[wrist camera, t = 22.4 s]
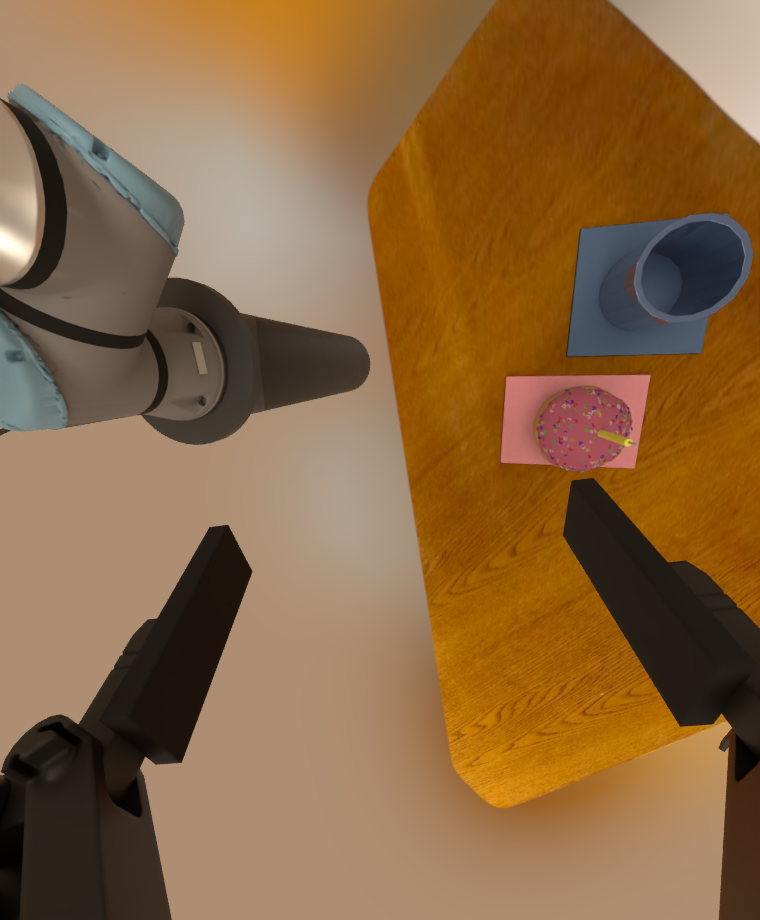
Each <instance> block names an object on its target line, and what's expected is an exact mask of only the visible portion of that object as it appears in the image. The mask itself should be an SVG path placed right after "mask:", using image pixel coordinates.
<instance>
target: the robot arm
mask: <svg viewBox="0 0 760 920" xmlns="http://www.w3.org/2000/svg"><path fill="white" fill-rule="evenodd" d="M8 99H9V103H7V102H5V101H4V100H2V99H0V427H2V429H0V435H2V434H4V433H7V432H9V431H11V430H13V431H33V430H44V429H53V430H58V429H62V428H67V427H72V426H78V425H84V424H90V423H95V422H101V421H107V420H112V419H118V418H124V417H129V416H134V415H141V414H145V415H150V416H156V417H161V418H166V419H171V420H178V421H185V420H193V419H198V418H202V417H204V416H206V415H208V414H210V413H211V412H213V411H214V410H215V409H216V408H217V407H218V405H219V404H220V402H221V401H222V399H223V397H224V395H225V392H226V388H227V384H228V363H227V358H226V354H225V351H224V348H223V346H222V343H221V341H220V339H219V338H218V336H217V334H216V333H215V332H214V330H213V329H212V328H211V327H210V325H209V324H208V323H207V322H206V321H204V320H203V319H202V318H201V317H199V316H198V315H196V314H194V313H192V312H190V311H187V310H183V309H178V308H171V307H162V308H156V307H157V304H158V301H159V299H160V296H161V294H162V291H163V288H164V286H165V283H166V280H167V278H168V275H169V273H170V270H171V267H172V265H173V262H174V259H175V257H176V256H177V255H178V248H177V247H178V244H179V240H180V237H181V233H182V230H183V226H184V215H183V210H182V208H181V206H180V204H179V202H178V201H177V200H176V199H175V197H174V196H172V195H171V194H170V193H169V192H167V191H166V190H165V189H164V188H163V187H161V186H160V185H159V184H157V183H156V182H154V181H153V180H152V179H151V178H150V177H148V176H147V175H145V174H144V173H143V172H142V171H140V170H139V169H137V168H136V167H135V166H134V165H132V164H131V163H130V162H128V161H127V160H126V159H124V158H123V157H122V156H120V155H119V154H118V153H116V152H115V151H114V150H112V149H111V148H109V147H108V146H107V145H105V144H104V143H103V142H102V141H101V140H99V139H98V138H96V137H95V136H94V135H92V134H91V133H90V132H88V131H87V130H86V129H85V128H83V127H82V126H81V125H79V124H78V123H77V122H75V121H74V120H73V119H71V118H70V117H69V116H68V115H66V114H65V113H63V112H62V111H61V110H59V109H58V108H57V107H55V106H54V105H52V104H51V103H50V102H49V101H47V100H46V99H44V98H43V97H42V96H41V95H39V94H38V93H36V92H35V91H34V90H32V89H31V88H30V87H28V86H26V85H23V84H18V85H16V86H15V88H14V90H13V92H10V94H8ZM563 536H564V538H565V539H566V541H567V543H568V544H569V546H570V548H571V549H572V551H573V553H574V554H575V556H576V557H577V559H578V561H579V562H580V564H581V566H582V567H583V569H584V570H585V572H586V574H587V575H588V577H589V579H590V580H591V582H592V584H593V585H594V587H595V588H596V590H597V592H598V593H599V595H600V597H601V598H602V600H603V601H604V603H605V605H606V606H607V608H608V610H609V611H610V613H611V615H612V616H613V618H614V619H615V621H616V623H617V624H618V626H619V628H620V629H621V631H622V633H623V634H624V636H625V637H626V639H627V641H628V642H629V644H630V646H631V647H632V649H633V650H634V652H635V654H636V655H637V657H638V659H639V660H640V662H641V664H642V665H643V667H644V668H645V670H646V672H647V673H648V675H649V677H650V678H651V680H652V681H653V683H654V685H655V686H656V688H657V690H658V691H659V693H660V695H661V696H662V698H663V699H664V701H665V703H666V704H667V706H668V708H669V709H670V711H671V712H672V714H673V716H674V717H675V719H676V721H677V722H678V724H679V726H680V727H682V726H696V725H709V724H714V722H715V721H716V720H717V718H718V717H719V716H720V714H721V713H722V714H723V716H724V717H725V718H726V720H727V721H728V723H729V724H730V725H731V727H732V729H731V730H730V731H729V732H728V734H727V735H726V736H725V737H724V738H723V740H722V741H721V743H720V746H719V749H720V750H722V751H724V752H725V751H726V749H727V748H728V747H729V754H728V771H727V790H726V805H725V807H726V808H725V824H724V840H723V858H722V875H721V893H720V911H719V920H760V628H759V627H758V626H757V625H756V624H755V623H754V622H753V621H752V620H751V619H750V618H749V617H748V616H747V615H746V614H745V613H744V612H743V611H742V610H741V609H740V608H737V605H736V604H735V603H734V601H733V600H732V599H731V598H730V597H729V596H728V595H727V594H724V593H723V590H722V589H721V588H720V587H719V586H718V585H717V584H716V583H715V582H714V581H713V580H712V579H711V578H710V577H709V576H708V575H707V574H706V573H704V572H703V571H701V570H700V569H698V568H697V567H695V566H693V565H692V564H690V563H689V562H687V561H678V562H669V563H668V562H667V561H666V560H665V559H664V558H663V557H662V555H661V554H660V553H659V552H658V551H657V550H656V549H655V548H654V546H653V545H652V544H651V543H650V542H649V541H648V540H647V538H646V537H645V536H644V535H643V534H642V533H641V532H640V530H639V529H638V528H637V527H636V526H635V525H634V524H633V523H632V521H631V520H630V519H629V518H628V517H627V516H626V515H625V513H624V512H623V511H622V510H621V509H620V508H619V507H618V505H617V504H616V503H615V502H614V501H613V500H612V499H611V498H610V496H609V495H608V494H607V493H606V492H605V491H604V490H603V488H602V487H601V486H600V485H599V484H598V483H597V482H596V480H595V479H594V478H589V479H582V480H574V481H571V487H570V494H569V500H568V507H567V513H566V519H565V526H564V532H563ZM251 574H252V570H251V568H250V566H249V564H248V562H247V560H246V558H245V556H244V555H243V553H242V551H241V549H240V547H239V545H238V543H237V541H236V539H235V537H234V535H233V533H232V531H231V530H230V528H229V526H228V525H223V526H215V527H209V529H208V531H207V533H206V534H205V536H204V538H203V540H202V541H201V543H200V545H199V547H198V548H197V550H196V552H195V554H194V555H193V557H192V559H191V561H190V562H189V564H188V566H187V568H186V569H185V571H184V573H183V575H182V576H181V578H180V580H179V582H178V583H177V585H176V587H175V589H174V590H173V592H172V594H171V596H170V597H169V599H168V601H167V603H166V605H165V606H164V608H163V610H162V611H161V613H160V615H159V617H158V618H157V619H149V620H147V621H146V622H145V623H144V624H143V625H142V626H141V627H140V628H139V629H138V630H137V631H136V632H135V634H134V635H133V636H132V638H131V639H130V641H129V643H128V644H127V646H126V647H125V649H124V651H123V655H121V656H120V657H119V659H118V661H117V662H116V664H115V666H114V669H113V670H111V672H110V674H109V675H108V677H107V679H106V680H105V682H104V683H103V685H102V687H101V688H100V690H99V692H98V693H97V695H96V697H95V698H94V700H93V702H92V703H91V705H90V706H89V708H88V710H87V711H86V713H85V715H84V716H83V718H82V720H81V721H80V723H79V724H76V723H75V722H74V721H72V720H71V719H70V718H68V717H66V716H63V715H56V716H51V717H49V718H47V719H45V720H43V721H41V722H39V723H38V724H36V725H35V726H34V727H32V728H31V729H30V730H29V731H28V732H26V733H25V734H24V735H23V736H22V737H21V738H20V739H19V741H18V742H17V743H16V744H15V745H14V746H13V748H12V749H11V751H10V752H9V754H8V755H7V757H6V759H5V761H4V764H3V767H2V770H1V772H2V773H4V774H5V775H3V776H2V775H0V920H172V919H171V914H170V909H169V903H168V898H167V893H166V888H165V883H164V877H163V872H162V867H161V862H160V857H159V852H158V846H157V841H156V836H155V831H154V826H153V821H152V815H151V810H150V805H149V800H148V795H147V790H146V784H145V779H144V775H143V774H142V772H141V770H140V767H141V764H142V762H143V760H144V758H145V757H147V758H148V759H149V760H151V761H152V762H153V763H155V764H169V763H182V760H183V757H184V755H185V752H186V749H187V747H188V744H189V741H190V738H191V736H192V733H193V730H194V728H195V725H196V722H197V720H198V717H199V714H200V712H201V709H202V706H203V704H204V701H205V698H206V696H207V693H208V690H209V687H210V685H211V682H212V679H213V677H214V674H215V671H216V668H217V666H218V663H219V660H220V658H221V655H222V652H223V650H224V647H225V644H226V642H227V639H228V636H229V633H230V631H231V628H232V625H233V623H234V620H235V617H236V615H237V612H238V609H239V606H240V604H241V601H242V598H243V596H244V593H245V590H246V587H247V585H248V582H249V579H250V577H251Z"/></svg>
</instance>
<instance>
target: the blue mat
mask: <svg viewBox="0 0 760 920" xmlns="http://www.w3.org/2000/svg"><path fill="white" fill-rule="evenodd" d="M720 215H722V216H725V217H728V218H729V214H720ZM681 219H682V218H681ZM678 220H680V219H672V220H662V221H652V222H643V223H633V224H624V225H614V226H604V227H595V228H585V229H581V230H580V237H579V246H578V255H577V264H576V273H575V283H574V292H573V301H572V310H571V319H570V329H569V338H568V347H567V357H569V356H610V355H650V354H690V353H701V351H702V346H703V341H704V336H705V331H706V326H707V321H708V317H709V315H708V316H706V317H703V318H700V319H698V320H695V321H692V322H687V323H682V324H676V325H671V326H666V327H661V328H655V329H650V330H645V331H626V330H622V329H619V328H617V327H615V326H613V325H612V324H610V323H609V322H608V321H607V320H606V318H605V317H604V316H603V314H602V312H601V309H600V305H599V292H600V287H601V284H602V282H603V280H604V278H605V276H606V274H607V273H608V271H609V270H610V269H611V268H612V267H613V266H614V265H615V264H616V263H617V262H618V261H619V260H620V259H621V258H622V257H624V256H625V255H626V254H628V253H629V252H631V251H632V250H633V249H635V248H636V247H638V246H639V245H641V244H642V243H643V242H645V241H646V240H648V239H649V238H650V237H652V236H653V235H655V234H656V233H657V232H659V231H660V230H662V229H663V228H664V227H666V226H667V225H670V224H672V223H674V222H676V221H678Z"/></svg>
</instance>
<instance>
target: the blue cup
mask: <svg viewBox="0 0 760 920" xmlns="http://www.w3.org/2000/svg"><path fill="white" fill-rule="evenodd" d="M752 258H753V251H752V247H751V243H750V239H749V235H748V233H747V232H746V231H745V230H744V229H743V228H742V227H741V226H740V225H739V224H738V223H737V222H736V221H735V220H734V219H732V218H728V217H725V216H722V215H719V214H716V213H706V214H696V215H689V216H686V217H684V218H682V219H680V220H678V221H676V222H674V223H672V224H670V225H667V226H666V227H664V228H663V229H662V230H660V231H659V232H657V233H656V234H655V235H653V236H652V237H650V238H649V239H648V240H646V241H645V242H643V243H642V244H641V245H639V246H638V247H636V248H635V249H633V250H632V251H631V252H629V253H628V254H626V255H625V256H624V257H622V258H621V259H620V260H619V261H618V262H617V263H616V264H615V265H614V266H613V267H612V268H611V269H610V270H609V271H608V273H607V274H606V276H605V278H604V280H603V282H602V284H601V287H600V292H599V305H600V309H601V312H602V314H603V316H604V317H605V318H606V320H607V321H608V322H609V323H610V324H612V325H613V326H615V327H617V328H619V329H622V330H626V331H645V330H650V329H655V328H661V327H666V326H671V325H676V324H682V323H687V322H692V321H695V320H698V319H700V318H703V317H706V316H708V315H711V314H713V313H715V312H717V311H718V310H719V309H720V308H722V307H723V306H724V305H725V304H727V303H728V302H729V301H730V300H732V299H733V298H734V297H735V296H736V294H737V293H738V291H739V290H740V288H741V287H742V285H743V284H744V282H745V281H746V279H747V278H748V276H749V271H750V267H751V262H752Z"/></svg>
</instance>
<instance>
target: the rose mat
mask: <svg viewBox="0 0 760 920" xmlns="http://www.w3.org/2000/svg"><path fill="white" fill-rule="evenodd" d="M649 381H650V375H580V376H506V386H505V401H504V416H503V430H502V445H501V460H500V462H501V463H523V464H546V465H552V464H551V463H549V462H548V461H547V460H546V459H545V458H544V457H543V456H542V454H541V452H540V449H539V447H538V445H537V443H536V440H535V437H534V433H533V423H534V419H535V416H536V415H537V413H538V411H539V410H540V408H541V406H542V404H543V403H544V402H545V401H546V400H547V399H549V398H550V397H552V396H554V395H555V394H557V393H558V392H560V391H561V390H563V389H566V388H572V387H578V386H587V385H589V386H596V387H599V388H601V389H603V390H606V391H608V392H609V393H611V394H613V395H614V396H615V397H617V398H619V399H622V400H623V401H624V402H625V403H626V404H627V406H628V407H629V408H630V409H629V410H630V411H632V414H631V417H632V424H633V425H632V428H633V430H631V432H630V436H629V439H632V441H633V442H634V443H637V444H638V445H637V446H635V445H631V446H625V447H624V449H623V450H622V452H621V453H620V454H619V455H618V456H617V457H616V458H614V459H613V460H612V461H610V462H611V463H607V464H605V465H602V466H600V467H615V468H635V463H636V458H637V452H638V446H639V440H640V434H641V428H642V422H643V416H644V410H645V404H646V399H647V393H648V387H649ZM632 428H631V429H632Z"/></svg>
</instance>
